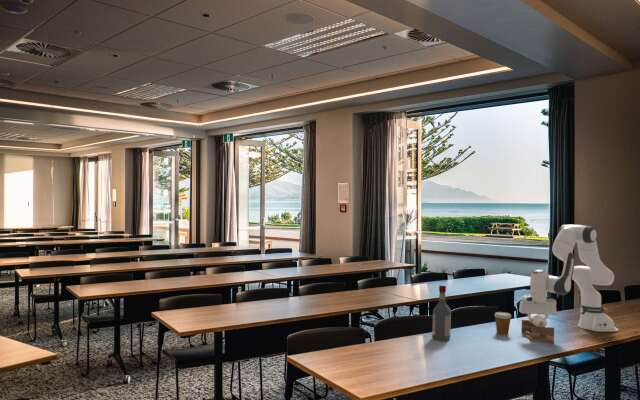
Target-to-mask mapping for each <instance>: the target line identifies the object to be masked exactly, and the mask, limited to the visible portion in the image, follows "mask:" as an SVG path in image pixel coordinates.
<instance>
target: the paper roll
mask: <svg viewBox="0 0 640 400" xmlns="http://www.w3.org/2000/svg"><path fill="white" fill-rule="evenodd" d="M530 317H531V318H532V319H533V322H531V323H533V324H534V325H536V326H537V327H547V325H548V321H547V319H546V320H545V319H544V317H543V316H541V315H540V314H531V316H530Z"/></svg>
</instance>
